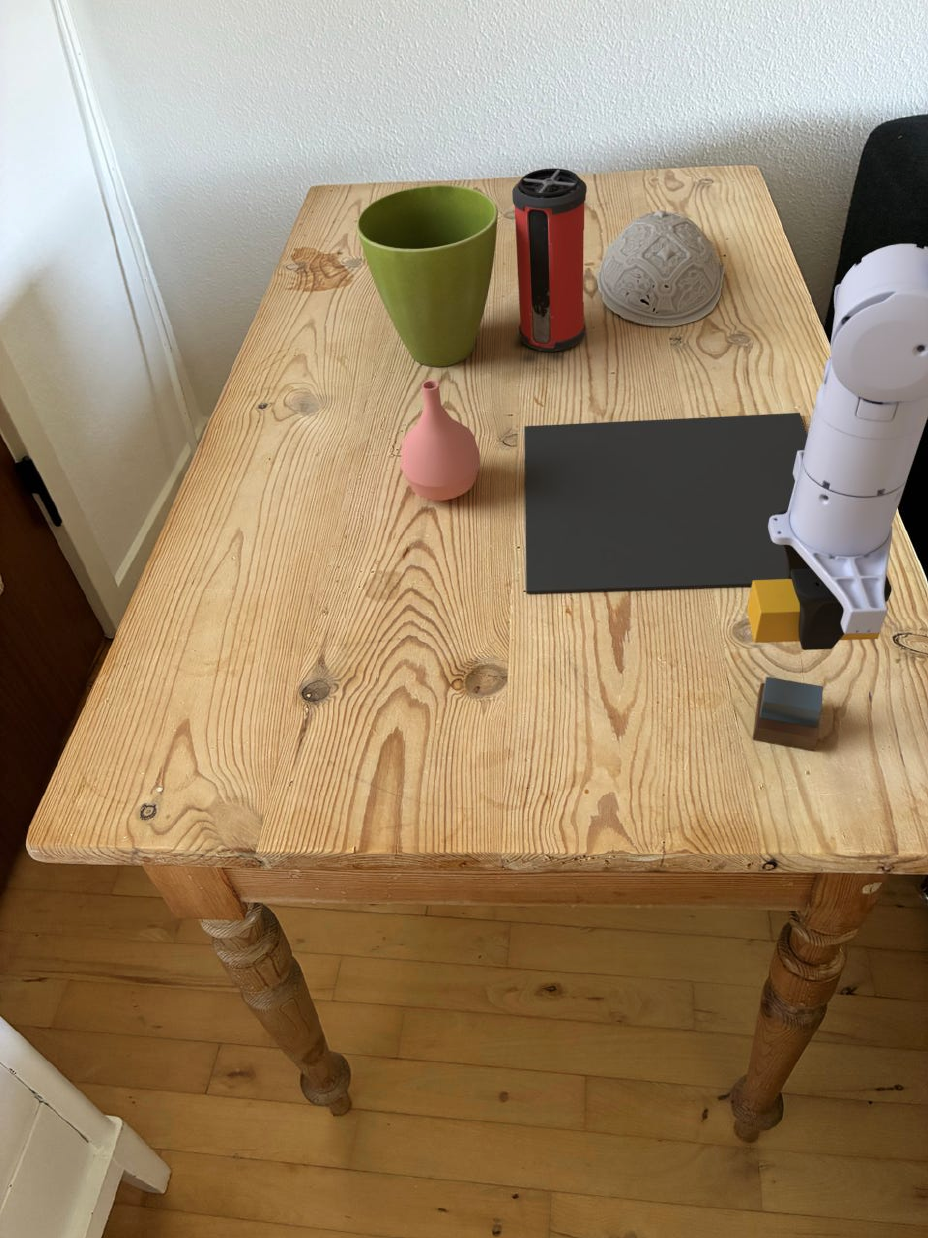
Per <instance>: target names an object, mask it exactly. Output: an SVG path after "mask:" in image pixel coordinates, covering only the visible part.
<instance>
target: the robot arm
mask: <svg viewBox="0 0 928 1238" xmlns="http://www.w3.org/2000/svg"><path fill="white" fill-rule="evenodd" d="M917 246H918V245H917V244H916V243H896V244H891V245H887V246H883V247H880V248H877V249H875V250H874V251H872V252H869V253H868V254H866V255H864V256H863V257H862V258H861V262H859V263H858V264H857V263H854V264H853V265H852V267H851V268H850V269H849V270H848V271H847V272H846V273H845V276H844V277H843V279H842V280H841V282H840V283H839V284H837V285H836V286H835V289H834V295H833V304H834V305H833V307H834V318H833V324H832V332H831V339H830V346H829V347H830V348H829V349H830V357H828V359H827V361H826V362H825V365H824V371H823V375H822V382H821V384H820V386H819V387H818V389H817V392H816V397H815V402H814V405H813V409H812V414H811V418H810V419H811V420H810V424H809V428H808V432H807V435H808V437H807V441H806V445H805V450H800V451H797V455H796V460H795V465H794V469H793V476H794V479H795V484H794V488H793V492H792V496H791V500H790V504H789V508H788V510H785V511H782V512H780V513H778V514H777V515H774V516H771V517H770V519H769V524H768V530H769V533H770V537H771V540H772V541H773V542H774V543H775V544H779V545H784V548H785V555H786V565H787V579H792V583H793V586H794V590H795V593H796V596H797V598H798V600H799V604H800V616H799V639H800V642H799V643H800V647H801V650H803V651H817V650H820V651H821V650H833V649H834V647H835V646H836V645H837V644H838V643H839V642H840V641H841V640H840V639H841V638H842V636H843V635H844V634H868V633H880V634H881V631H882V628H883V625H884V622H885V620H886V617H887V614H888V612H889V608H888V609H887V606H888V605H887V606H886V603H887V602H889V600H890V597H891V594H892V590H893V589H892V585H891V582H890V580H889V577H888V574H887V572H888V567H889V559H890V553H891V547H892V539H893V524H894V519H895V517H896V514H897V512H898V508H899V505H900V502H901V499H902V496H903V493H904V490H905V486H906V484H907V480H908V476H909V474H910V471H911V468H912V466H913V462H914V459H915V456H916V453H917V450H918V447H919V444H920V441H921V438H922V436H923V432H924V429H925V426H926V423H927V420H928V246H924V247H923V248H921V247H919V246H918V247H917Z"/></svg>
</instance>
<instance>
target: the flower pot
mask: <svg viewBox="0 0 928 1238" xmlns="http://www.w3.org/2000/svg"><path fill="white" fill-rule="evenodd" d="M498 209H499V208H498V206H497V203H495V201H494V200H493V199H492V198H491V197H490V196H489V195H487V194H486V193H484V192H482V191H479V190H477V189H474V188H471V187H466V186H462V185H451V184H433V185H432V184H431V185H422V186H415V187H409V188H405V189H401V190H397V191H395V192H391V193H389V194H387V195H384V196H382V197H380V198H378V199H376V200H375V201H372V203H370V204H368V205H367V206H366V207H365V208H364V209H362V211H361V212H360V214H359V215H358V217H357V219H356V225H355V226H356V231H357V234H358V237H359V241H360V245H361V248H362V251H363V253H364V257H365V260H366V263H367V266H368V269H369V272H370V275H371V277H372V279H373V283H374V286H375V288H376V289H377V292H378V295H379V297H380V299H381V301H382V303H383V306H384V308H385V310H386V312H387V314H388V317H389V318H390V320H391V322H392V324H393V326H394V328H395V330H396V332H397V334H398V335H399V338H400V339H401V341H402V343H403V344H404V346H405V348H406V349H407V351H408V353H409V354H410V355H411V357H412V359H413V360H414V361H415V362H416V363H419V364H421V365H423V366H427V367H435V368H437V367H439V368H440V367H441V368H442V367H448V366H452V365H456V364H458V363H461V362H462V361H464V360H466V359H467V358H468V357H469V356H470V355H471V353H472V352H473V349H474V347H475V343H476V341H477V338H478V335H479V331H480V329H481V328H480V327H481V325H482V322H483V321H482V320H483V317H484V312H485V309H486V305H487V300H488V297H489V290H490V286H491V281H492V274H493V268H494V267H493V266H494V261H495V260H494V259H495V253H496V245H497V244H496V242H497V232H498V231H497V230H498V219H499V217H498V216H499V210H498Z"/></svg>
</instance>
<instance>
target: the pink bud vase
mask: <svg viewBox="0 0 928 1238" xmlns="http://www.w3.org/2000/svg"><path fill="white" fill-rule="evenodd" d="M421 390H422V399H423V403H424V408H423V410H422V413H421V415H420V417H419V419H418V421H417V423H416V424H415V425H414V426H413V427H412V428H411V429H410V430H408V432H407V433H406V435H405V436H404V437H403V439H402V441H401V449H400V451H401V452H400V453H401V454H400V470H401V472H402V474H403V476H404V477H405V479H406V481H407V483H408V484H409V486H410V488H411V490H412V492H414V493H415V494H416V495H417V496H419V497H420V498H423V499H427V500H430V501H447V500H453V499H455V498H458V497H460V496H462V495H464V494H466V493H467V492H468V491H469V490H471V489H472V487H473V486H474V484H475V481H476V479H477V477H478V476H477V475H478V471H479V467H480V465H481V454H480V451H479V446H478V444H477V441H476V439H475V435H474V434H473V432H472V431H471V429H470V428H468V427H467V426H465V425H464V424H463V423H461V422H460V421H457V420H456V419H454V418H453V417H452V416H451V415H450V414H449V413H448V411H447V410H446V409H445V407H443V405H442V400H441V391H440V383H439V381H437V380H435V379H428V380H426V381H424V382H423V383H422V384H421Z"/></svg>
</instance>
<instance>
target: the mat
mask: <svg viewBox="0 0 928 1238" xmlns="http://www.w3.org/2000/svg"><path fill="white" fill-rule="evenodd" d="M807 437H808V432H807V429H806V426H805V424H804V420H803V418H802V415H801V413H800V412H787V413H769V414H768V413H767V414H766V413H765V414H747V415H746V414H745V415H727V416H707V417H706V416H705V417H688V418H687V417H686V418H685V417H683V418H663V419H646V420H645V419H644V420H643V419H642V420H623V421H603V422H602V421H601V422H583V423H564V424H562V423H561V424H543V425H542V424H541V425H524V494H525V497H524V498H525V500H524V501H525V502H524V506H525V509H524V510H525V513H524V514H525V592H526V593H525V594H526V595H535V594H536V595H537V594H539V595H540V594H565V593H568V594H569V593H571V594H572V593H597V592H598V593H600V592H627V591H628V592H629V591H631V592H632V591H656V590H657V591H659V590H661V591H663V590H687V589H688V590H689V589H718V588H720V589H722V588H751V587H752V582H753V580H776V579H787V565H786V555H785V548H784V545H779V544H775V543H774V542H773V541H772V540H771V537H770V533H769V530H768V524H769V519H770V517H771V516H774V515H777V514H778V513H780V512H782V511H785V510H788V508H789V504H790V500H791V496H792V492H793V488H794V484H795V479H794V476H793V469H794V465H795V460H796V455H797V451H800V450H805V445H806V441H807Z"/></svg>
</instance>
